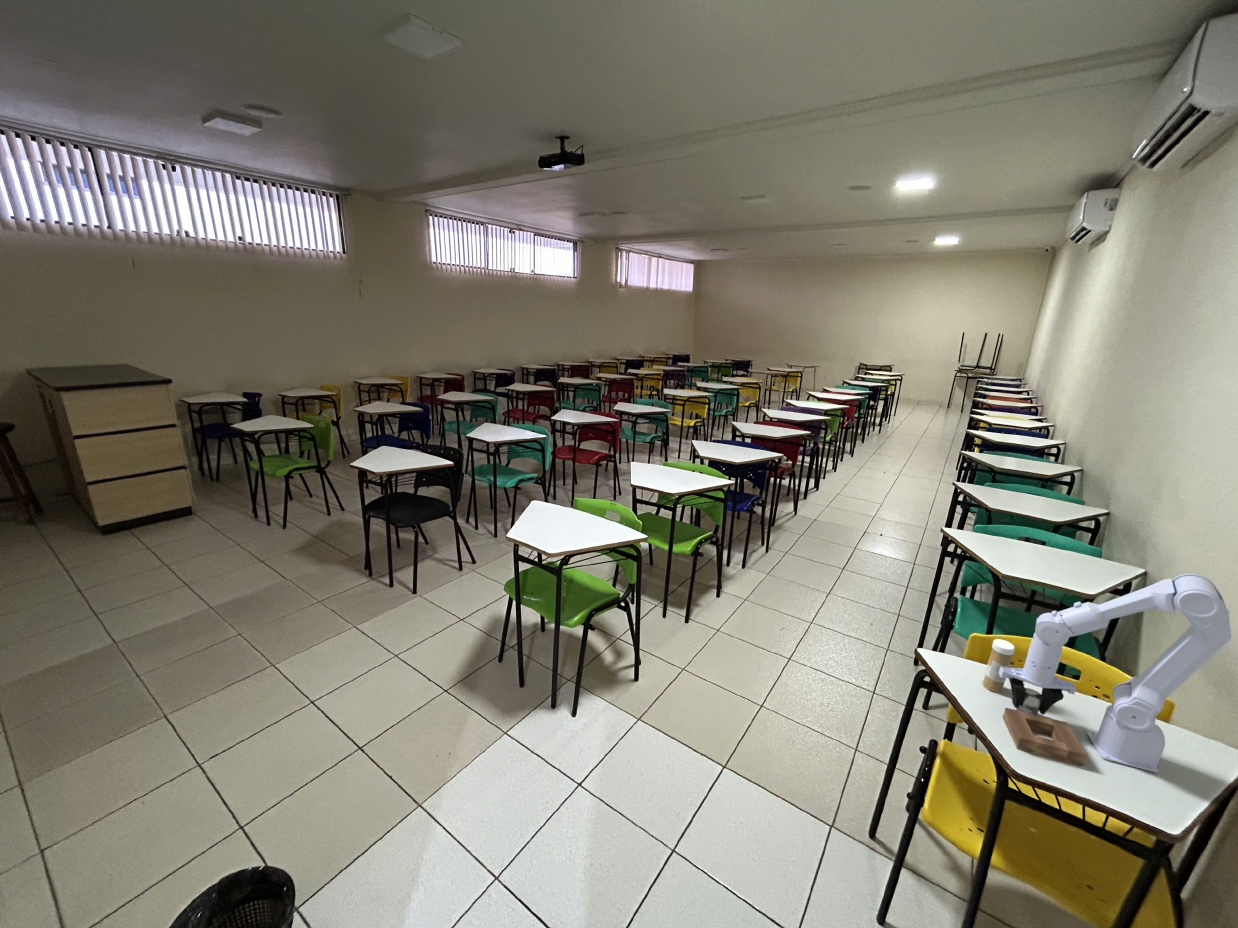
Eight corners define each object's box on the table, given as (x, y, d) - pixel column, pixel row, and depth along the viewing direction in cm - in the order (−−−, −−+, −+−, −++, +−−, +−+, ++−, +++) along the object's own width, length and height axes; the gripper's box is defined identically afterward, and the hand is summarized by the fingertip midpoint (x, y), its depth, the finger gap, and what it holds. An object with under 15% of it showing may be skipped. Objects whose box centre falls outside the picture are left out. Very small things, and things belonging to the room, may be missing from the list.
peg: (1033, 710, 125) (1038, 690, 123) (1039, 721, 121) (1045, 701, 119) (1013, 705, 126) (1019, 685, 124) (1019, 716, 122) (1025, 696, 121)
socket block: (1063, 732, 118) (1066, 722, 117) (1083, 765, 109) (1086, 754, 108) (1002, 717, 122) (1005, 707, 121) (1016, 748, 113) (1020, 737, 112)
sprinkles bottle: (985, 678, 136) (996, 636, 132) (1005, 688, 132) (1017, 644, 128) (979, 686, 133) (991, 642, 129) (1000, 695, 129) (1012, 651, 126)
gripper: (1072, 659, 120) (1057, 705, 124) (1000, 644, 125) (988, 689, 129) (1085, 677, 114) (1069, 725, 118) (1009, 660, 119) (996, 707, 123)
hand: (1027, 708), depth 123 cm, fingers open, 5 cm apart
